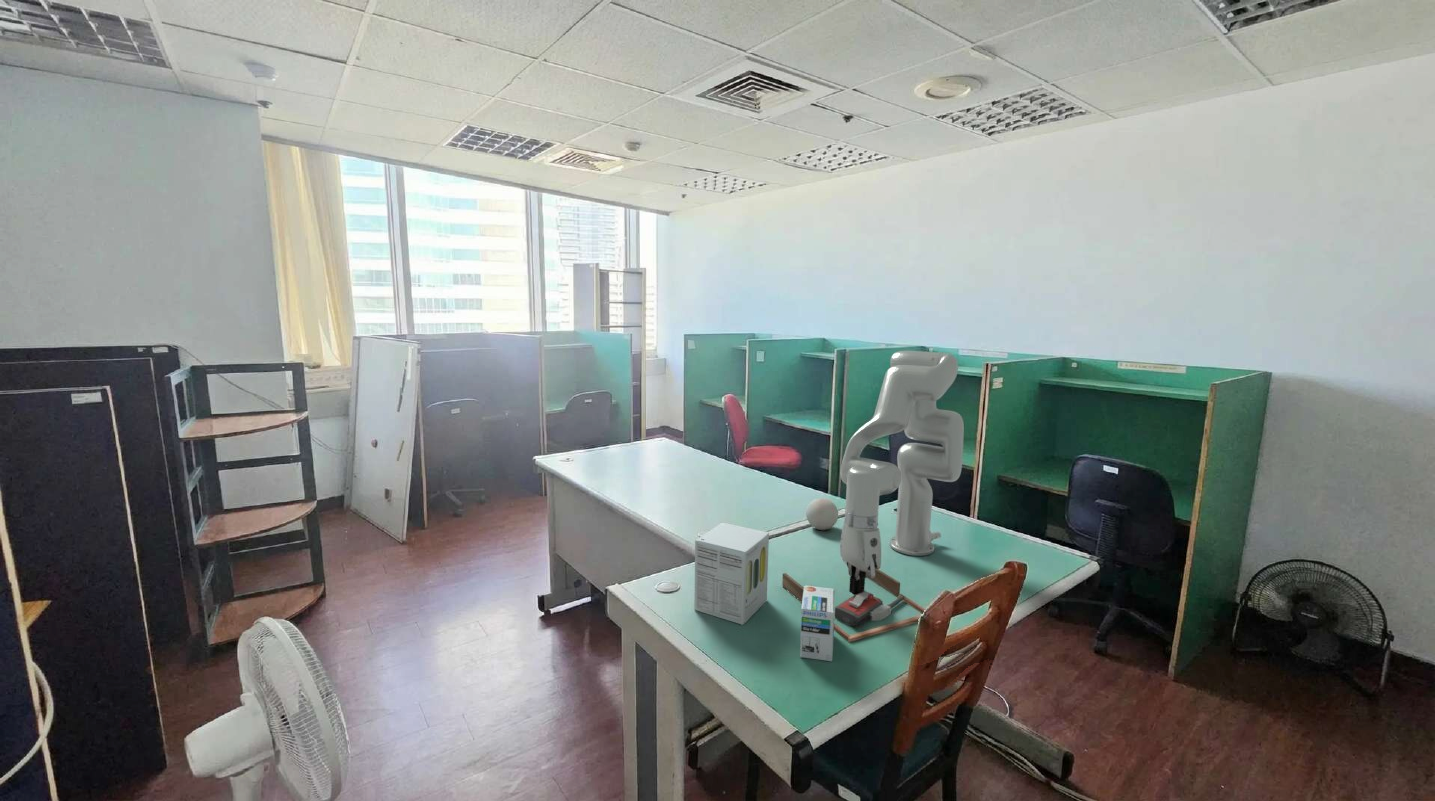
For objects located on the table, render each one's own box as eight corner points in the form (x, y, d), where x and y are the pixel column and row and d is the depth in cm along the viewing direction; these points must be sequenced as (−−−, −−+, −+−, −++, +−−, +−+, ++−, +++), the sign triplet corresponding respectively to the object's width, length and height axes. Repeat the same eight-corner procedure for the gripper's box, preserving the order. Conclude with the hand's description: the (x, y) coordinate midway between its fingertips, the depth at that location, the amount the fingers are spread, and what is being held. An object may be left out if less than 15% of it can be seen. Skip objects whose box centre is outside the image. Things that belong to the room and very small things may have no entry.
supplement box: (743, 626, 129) (745, 552, 126) (693, 610, 136) (693, 539, 133) (768, 600, 141) (770, 532, 138) (720, 586, 147) (721, 521, 144)
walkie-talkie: (862, 636, 127) (907, 604, 141) (863, 617, 126) (908, 587, 140) (829, 620, 133) (874, 591, 147) (829, 602, 132) (875, 575, 146)
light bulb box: (832, 662, 117) (835, 612, 115) (798, 658, 118) (800, 608, 116) (833, 633, 127) (835, 587, 125) (801, 629, 128) (803, 584, 126)
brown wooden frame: (857, 569, 158) (858, 557, 157) (933, 617, 134) (934, 603, 133) (782, 586, 148) (782, 573, 147) (849, 642, 124) (850, 627, 123)
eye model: (834, 536, 180) (836, 505, 178) (802, 531, 183) (803, 501, 182) (839, 525, 189) (841, 496, 187) (809, 521, 193) (810, 492, 191)
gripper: (895, 527, 131) (890, 603, 134) (853, 507, 144) (849, 576, 147) (869, 532, 128) (864, 610, 131) (828, 511, 141) (825, 581, 144)
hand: (856, 592), depth 139 cm, fingers closed
